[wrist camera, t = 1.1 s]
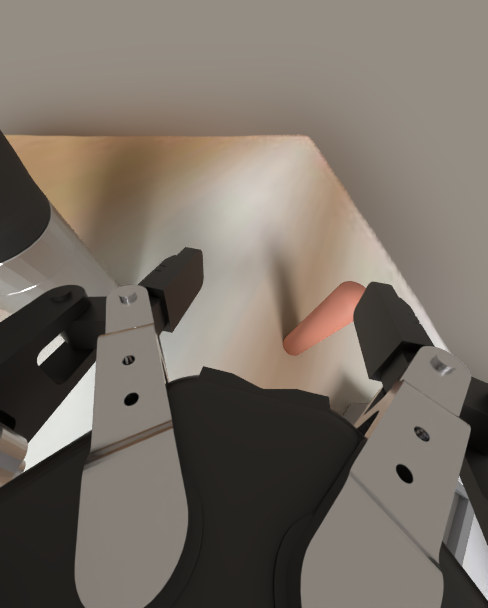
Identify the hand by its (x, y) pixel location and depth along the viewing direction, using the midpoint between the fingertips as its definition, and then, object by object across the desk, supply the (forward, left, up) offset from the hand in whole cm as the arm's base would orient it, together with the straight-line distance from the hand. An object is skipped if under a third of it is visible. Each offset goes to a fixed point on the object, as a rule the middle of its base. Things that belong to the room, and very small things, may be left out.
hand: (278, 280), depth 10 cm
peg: (+4, +8, -22) cm, 24 cm away
